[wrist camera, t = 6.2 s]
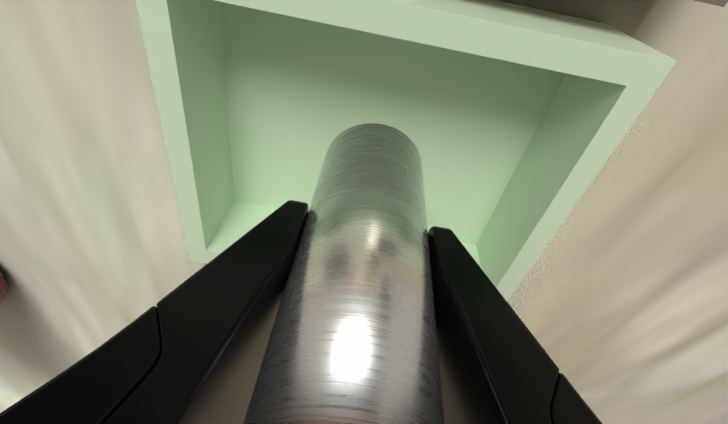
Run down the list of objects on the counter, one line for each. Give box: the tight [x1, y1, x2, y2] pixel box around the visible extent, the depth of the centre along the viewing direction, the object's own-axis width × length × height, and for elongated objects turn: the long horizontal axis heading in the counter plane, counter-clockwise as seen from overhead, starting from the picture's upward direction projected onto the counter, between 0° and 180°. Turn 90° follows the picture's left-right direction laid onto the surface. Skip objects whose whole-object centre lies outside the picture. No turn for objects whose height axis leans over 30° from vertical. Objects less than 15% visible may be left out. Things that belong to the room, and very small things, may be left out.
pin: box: [243, 123, 444, 424], centre depth 7 cm, size 4×4×8 cm
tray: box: [135, 0, 677, 302], centre depth 10 cm, size 10×8×3 cm
